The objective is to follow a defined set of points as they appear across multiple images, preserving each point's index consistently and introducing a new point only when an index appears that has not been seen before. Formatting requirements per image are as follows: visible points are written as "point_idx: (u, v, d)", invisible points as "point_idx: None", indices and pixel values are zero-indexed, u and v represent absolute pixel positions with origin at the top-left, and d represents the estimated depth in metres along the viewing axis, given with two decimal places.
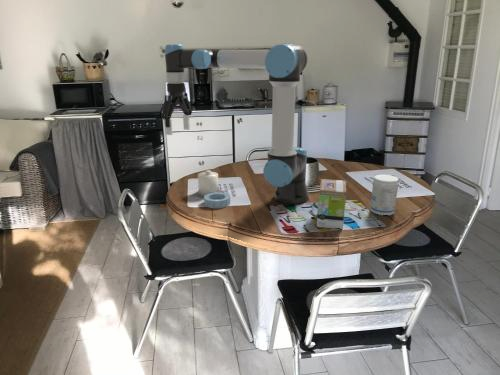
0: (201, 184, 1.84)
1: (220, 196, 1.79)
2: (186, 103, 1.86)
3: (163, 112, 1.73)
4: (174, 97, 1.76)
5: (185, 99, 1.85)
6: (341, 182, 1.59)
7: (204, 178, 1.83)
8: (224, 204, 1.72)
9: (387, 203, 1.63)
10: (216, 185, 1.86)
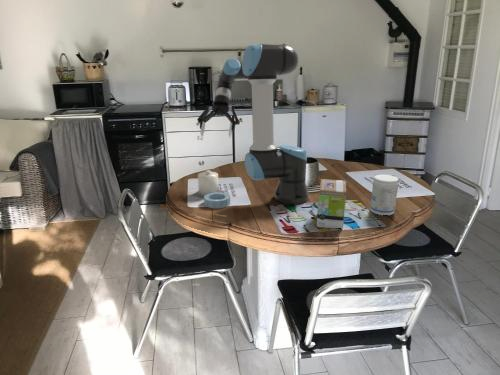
0: (201, 184, 1.84)
1: (220, 196, 1.79)
2: (233, 114, 1.99)
3: None
4: (214, 107, 2.02)
5: (232, 111, 2.00)
6: (341, 182, 1.59)
7: (204, 178, 1.83)
8: (224, 204, 1.72)
9: (387, 203, 1.63)
10: (216, 185, 1.86)
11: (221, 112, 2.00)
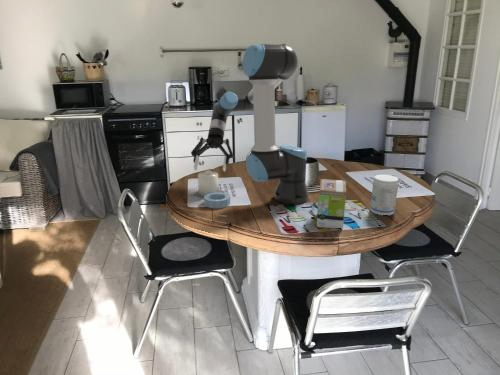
0: (201, 184, 1.84)
1: (220, 196, 1.79)
2: (227, 147, 1.96)
3: None
4: (208, 139, 1.98)
5: (226, 144, 1.96)
6: (341, 182, 1.59)
7: (204, 178, 1.83)
8: (224, 204, 1.72)
9: (387, 203, 1.63)
10: (216, 185, 1.86)
11: (215, 145, 1.96)
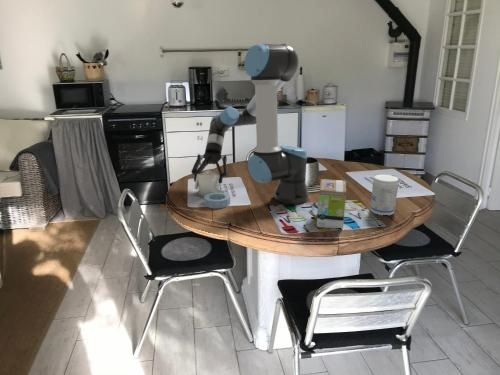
0: (201, 184, 1.84)
1: (220, 196, 1.79)
2: (223, 165, 1.89)
3: None
4: (205, 155, 1.92)
5: None
6: (341, 182, 1.59)
7: (204, 178, 1.83)
8: (224, 204, 1.72)
9: (387, 203, 1.63)
10: None
11: (213, 161, 1.90)
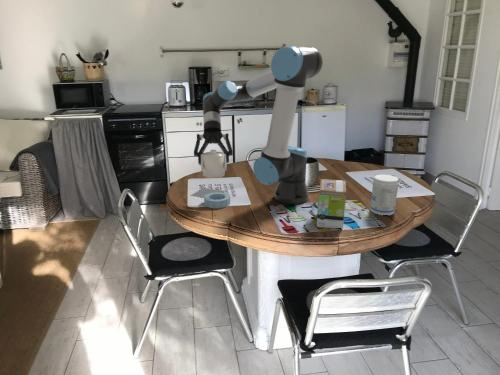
0: (208, 165, 1.70)
1: (220, 196, 1.79)
2: (226, 143, 1.77)
3: None
4: (205, 134, 1.78)
5: (225, 139, 1.78)
6: (341, 182, 1.59)
7: (212, 158, 1.69)
8: (224, 204, 1.72)
9: (387, 203, 1.63)
10: (223, 165, 1.73)
11: (215, 140, 1.77)
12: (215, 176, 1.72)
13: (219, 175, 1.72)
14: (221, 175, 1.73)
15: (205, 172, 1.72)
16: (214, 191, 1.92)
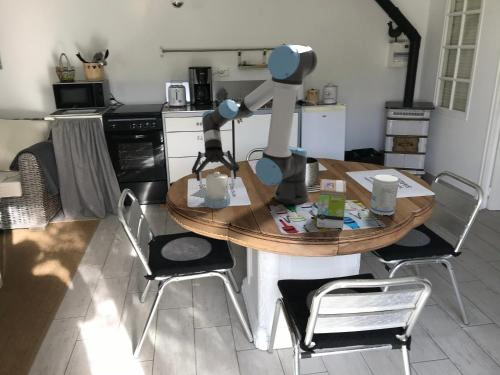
0: (212, 188, 1.70)
1: None
2: (231, 160, 1.78)
3: None
4: (207, 153, 1.77)
5: (228, 156, 1.78)
6: (341, 182, 1.59)
7: (217, 181, 1.69)
8: (224, 204, 1.72)
9: (387, 203, 1.63)
10: (227, 187, 1.74)
11: (217, 159, 1.77)
12: (219, 198, 1.72)
13: (223, 197, 1.72)
14: (225, 197, 1.73)
15: (209, 194, 1.72)
16: None
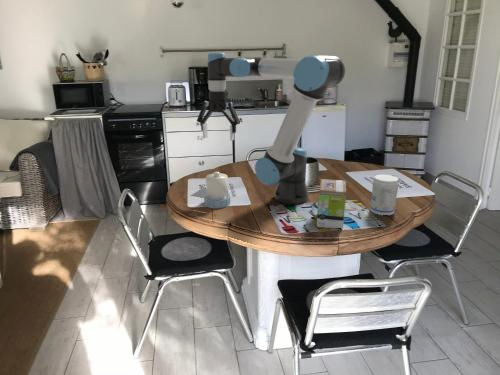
0: (212, 188, 1.70)
1: None
2: None
3: None
4: (210, 104, 1.82)
5: None
6: (341, 182, 1.59)
7: (217, 181, 1.69)
8: (224, 204, 1.72)
9: (387, 203, 1.63)
10: (227, 187, 1.74)
11: (219, 111, 1.81)
12: (219, 198, 1.72)
13: (223, 197, 1.72)
14: (225, 197, 1.73)
15: (209, 194, 1.72)
16: None
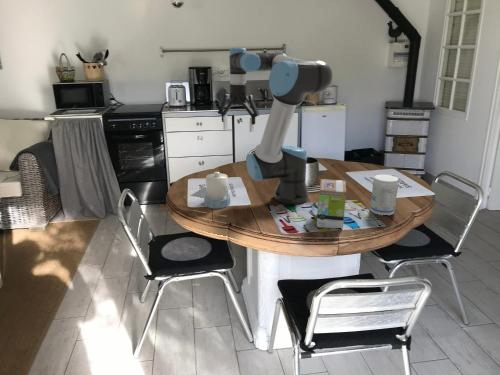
0: (212, 188, 1.70)
1: None
2: None
3: None
4: (231, 97, 1.91)
5: None
6: (341, 182, 1.59)
7: (217, 181, 1.69)
8: (224, 204, 1.72)
9: (387, 203, 1.63)
10: (227, 187, 1.74)
11: (239, 103, 1.90)
12: (219, 198, 1.72)
13: (223, 197, 1.72)
14: (225, 197, 1.73)
15: (209, 194, 1.72)
16: None
